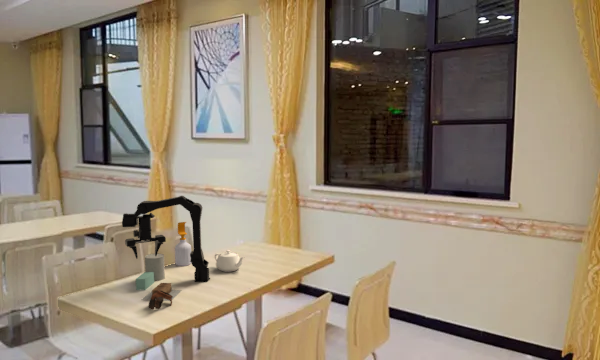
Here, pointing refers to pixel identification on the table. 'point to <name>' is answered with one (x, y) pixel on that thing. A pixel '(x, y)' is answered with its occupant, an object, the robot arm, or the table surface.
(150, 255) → the speckled grey cylinder
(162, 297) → the brown wooden block
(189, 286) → the table surface
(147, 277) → the lintel
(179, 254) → the soap bottle
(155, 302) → the brown curved piece
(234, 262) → the teapot
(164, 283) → the post
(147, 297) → the build mat
